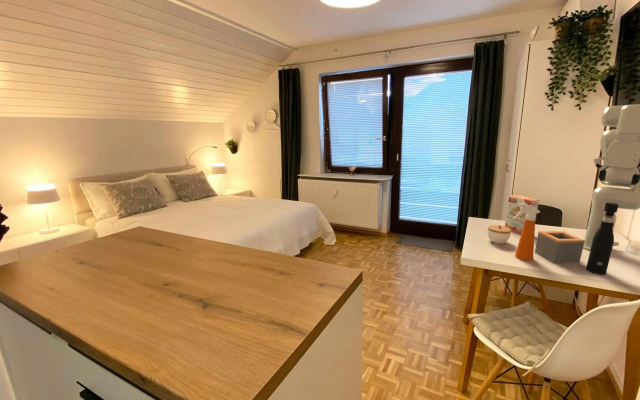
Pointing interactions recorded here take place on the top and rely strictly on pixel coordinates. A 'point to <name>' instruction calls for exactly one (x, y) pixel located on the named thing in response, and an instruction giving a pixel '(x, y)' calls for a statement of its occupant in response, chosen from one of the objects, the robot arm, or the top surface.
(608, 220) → the black water bottle
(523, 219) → the cracker box
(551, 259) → the sleeve
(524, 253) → the spray bottle
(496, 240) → the lidded jar
